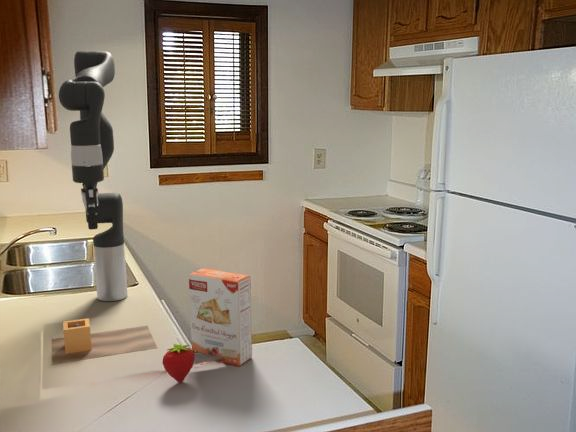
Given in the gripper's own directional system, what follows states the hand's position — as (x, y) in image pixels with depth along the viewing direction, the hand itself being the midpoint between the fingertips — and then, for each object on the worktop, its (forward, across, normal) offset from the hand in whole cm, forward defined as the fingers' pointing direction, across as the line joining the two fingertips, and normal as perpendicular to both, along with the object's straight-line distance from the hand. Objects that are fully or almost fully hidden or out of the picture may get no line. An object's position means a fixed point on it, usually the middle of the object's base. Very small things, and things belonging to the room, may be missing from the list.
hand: (92, 225), depth 153 cm
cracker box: (+29, +27, +26) cm, 48 cm away
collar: (+28, +11, -6) cm, 31 cm away
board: (+29, +11, 0) cm, 31 cm away
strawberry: (+29, +36, +14) cm, 49 cm away
